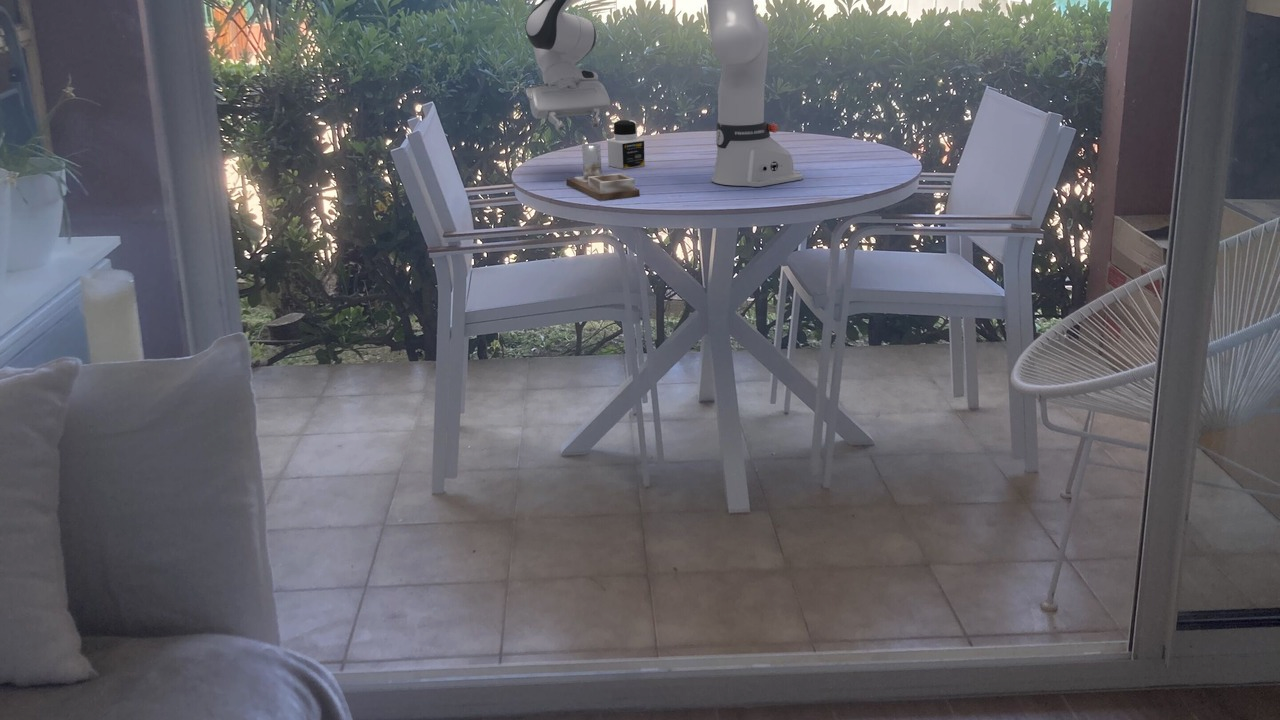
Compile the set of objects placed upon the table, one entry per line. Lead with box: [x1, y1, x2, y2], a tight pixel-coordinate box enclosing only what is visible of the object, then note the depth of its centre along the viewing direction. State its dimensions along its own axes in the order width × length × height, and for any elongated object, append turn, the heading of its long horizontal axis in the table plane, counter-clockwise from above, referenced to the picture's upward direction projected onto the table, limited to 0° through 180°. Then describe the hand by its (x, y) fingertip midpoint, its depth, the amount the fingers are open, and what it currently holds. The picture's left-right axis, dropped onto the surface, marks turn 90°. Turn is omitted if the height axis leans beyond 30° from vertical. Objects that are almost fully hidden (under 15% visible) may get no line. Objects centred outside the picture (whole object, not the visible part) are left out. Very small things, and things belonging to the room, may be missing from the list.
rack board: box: [565, 173, 641, 201], centre depth 273 cm, size 10×22×4 cm, turn 24°
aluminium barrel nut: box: [581, 143, 602, 180], centre depth 276 cm, size 4×4×8 cm
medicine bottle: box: [607, 119, 646, 170], centre depth 301 cm, size 7×7×12 cm
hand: (578, 127), depth 281 cm, fingers open, 8 cm apart
